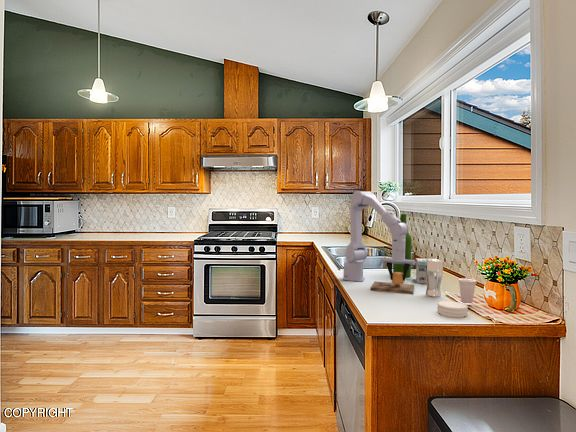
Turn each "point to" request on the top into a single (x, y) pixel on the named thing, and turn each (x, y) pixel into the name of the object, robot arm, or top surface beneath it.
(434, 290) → the beer glass
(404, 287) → the junction board
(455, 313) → the coaster
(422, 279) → the light bulb box
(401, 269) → the wine bottle
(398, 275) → the orange brown block
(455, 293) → the top surface
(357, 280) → the robot arm
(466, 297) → the smoothie
